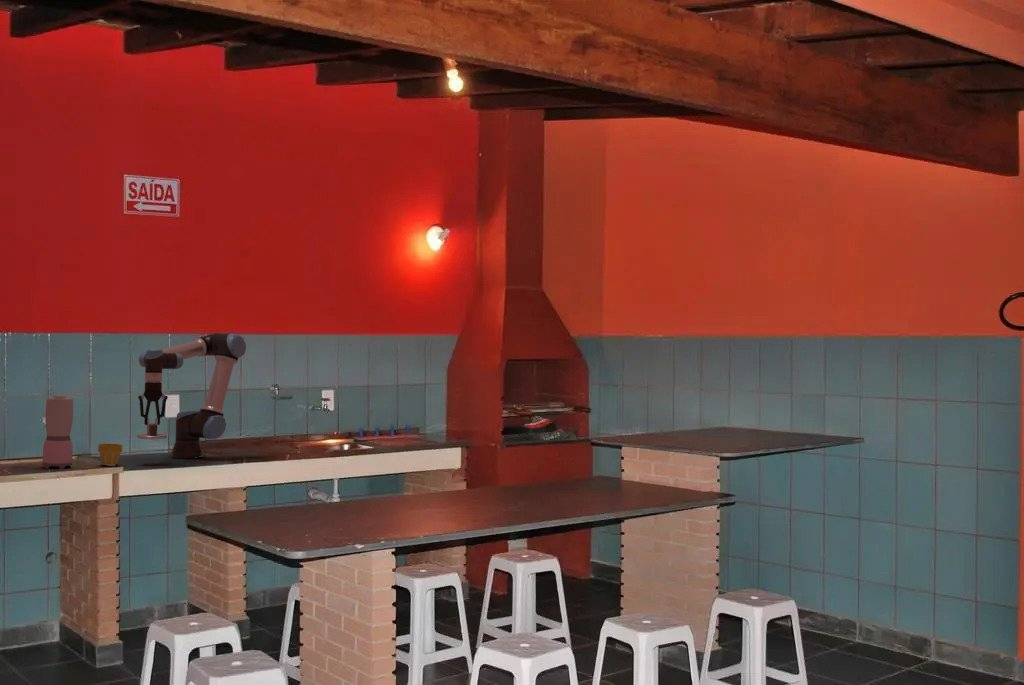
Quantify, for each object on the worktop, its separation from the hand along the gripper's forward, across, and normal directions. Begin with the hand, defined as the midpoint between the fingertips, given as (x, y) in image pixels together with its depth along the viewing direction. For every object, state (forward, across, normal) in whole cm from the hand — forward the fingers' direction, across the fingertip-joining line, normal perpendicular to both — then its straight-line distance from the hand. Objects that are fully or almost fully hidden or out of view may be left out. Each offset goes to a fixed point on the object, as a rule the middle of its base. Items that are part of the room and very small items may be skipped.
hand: (151, 431), depth 504 cm
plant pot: (+15, -18, -2) cm, 24 cm away
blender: (+15, -40, -5) cm, 43 cm away
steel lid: (+3, 0, 0) cm, 3 cm away
